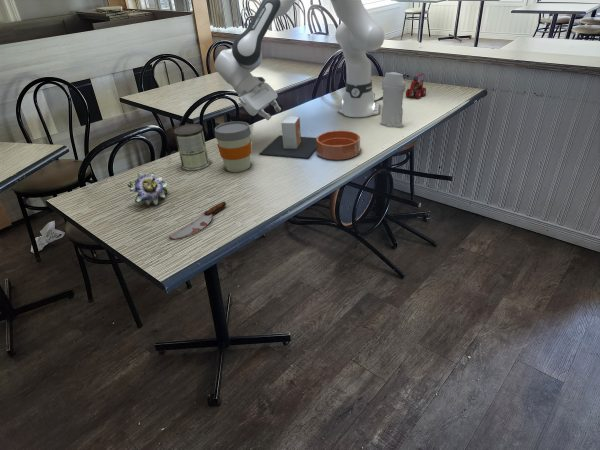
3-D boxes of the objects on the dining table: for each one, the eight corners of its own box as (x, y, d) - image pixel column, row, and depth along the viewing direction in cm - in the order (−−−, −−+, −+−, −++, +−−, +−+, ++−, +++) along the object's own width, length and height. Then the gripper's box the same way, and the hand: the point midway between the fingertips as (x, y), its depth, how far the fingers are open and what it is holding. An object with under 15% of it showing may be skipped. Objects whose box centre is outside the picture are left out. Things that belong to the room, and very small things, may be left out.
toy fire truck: (403, 98, 212) (404, 77, 206) (415, 92, 220) (416, 72, 214) (415, 100, 208) (417, 78, 202) (427, 94, 216) (429, 73, 210)
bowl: (324, 142, 168) (324, 129, 165) (364, 145, 163) (364, 131, 160) (311, 158, 156) (310, 144, 153) (353, 162, 150) (353, 147, 147)
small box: (297, 149, 162) (295, 123, 157) (283, 149, 163) (280, 122, 158) (301, 141, 169) (299, 116, 163) (288, 141, 170) (286, 116, 164)
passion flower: (160, 218, 136) (137, 203, 125) (138, 205, 140) (114, 189, 129) (180, 190, 138) (160, 172, 127) (157, 178, 142) (136, 160, 132)
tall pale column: (378, 124, 182) (379, 72, 170) (382, 121, 184) (385, 69, 173) (400, 128, 176) (403, 74, 164) (404, 125, 178) (408, 72, 167)
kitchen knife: (179, 241, 113) (167, 234, 115) (180, 246, 114) (168, 238, 116) (234, 205, 126) (222, 199, 128) (234, 209, 127) (223, 203, 129)
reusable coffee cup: (217, 164, 157) (210, 125, 149) (249, 157, 160) (243, 119, 152) (225, 177, 147) (218, 136, 139) (259, 169, 150) (254, 128, 142)
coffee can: (176, 165, 158) (168, 129, 150) (200, 157, 164) (192, 122, 156) (191, 173, 151) (183, 135, 144) (215, 163, 157) (208, 127, 150)
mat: (279, 136, 177) (279, 135, 177) (324, 139, 171) (324, 138, 170) (259, 154, 162) (259, 153, 161) (308, 159, 155) (307, 157, 155)
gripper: (240, 89, 150) (268, 118, 152) (264, 76, 166) (289, 101, 167) (231, 101, 153) (258, 129, 155) (255, 87, 169) (280, 112, 171)
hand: (274, 114), depth 162 cm, fingers open, 8 cm apart
